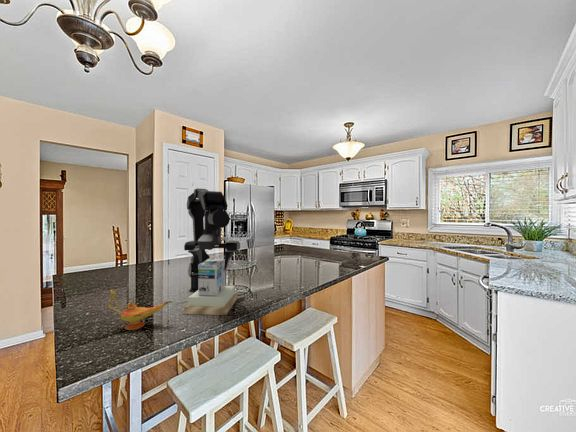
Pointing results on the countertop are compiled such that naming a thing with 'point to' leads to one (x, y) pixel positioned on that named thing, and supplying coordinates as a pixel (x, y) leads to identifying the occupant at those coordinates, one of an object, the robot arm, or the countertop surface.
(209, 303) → the sage top block
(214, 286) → the light bulb box
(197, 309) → the oak base block
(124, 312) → the magic lamp
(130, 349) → the countertop surface
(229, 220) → the robot arm
